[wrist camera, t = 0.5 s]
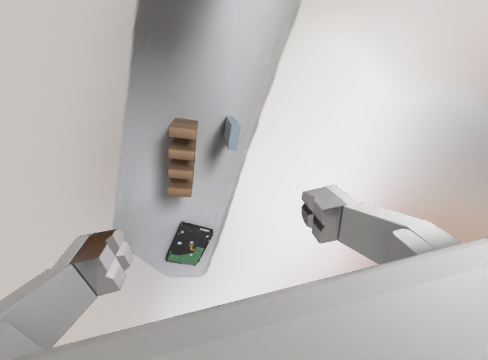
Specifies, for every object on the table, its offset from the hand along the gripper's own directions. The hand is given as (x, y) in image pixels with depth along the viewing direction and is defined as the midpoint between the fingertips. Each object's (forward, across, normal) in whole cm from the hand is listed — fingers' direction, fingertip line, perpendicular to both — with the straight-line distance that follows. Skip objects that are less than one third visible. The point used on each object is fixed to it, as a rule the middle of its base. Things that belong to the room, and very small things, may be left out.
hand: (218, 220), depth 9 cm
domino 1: (+42, +5, +3) cm, 42 cm away
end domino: (+42, -4, +5) cm, 42 cm away
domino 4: (+42, +9, +16) cm, 46 cm away
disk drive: (+43, +14, +40) cm, 60 cm away
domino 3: (+42, +8, +11) cm, 44 cm away
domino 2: (+42, +7, +7) cm, 43 cm away
